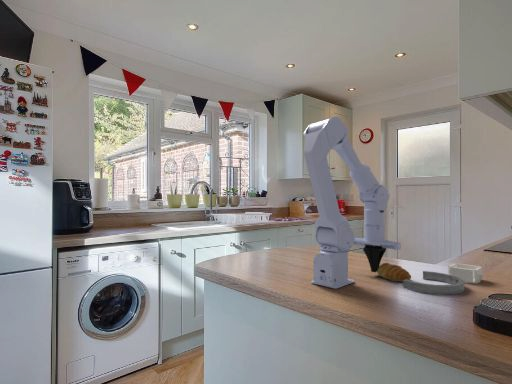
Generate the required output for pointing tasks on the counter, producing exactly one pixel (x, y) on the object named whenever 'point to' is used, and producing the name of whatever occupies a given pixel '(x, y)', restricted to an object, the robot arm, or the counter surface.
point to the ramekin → (466, 272)
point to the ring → (454, 288)
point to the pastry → (393, 272)
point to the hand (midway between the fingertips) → (374, 271)
